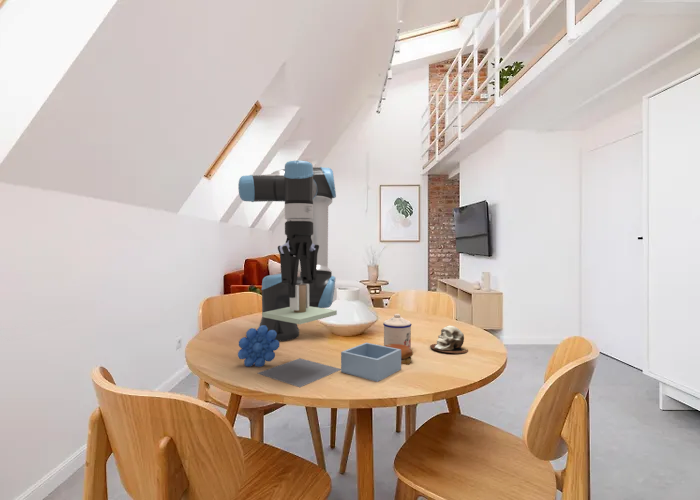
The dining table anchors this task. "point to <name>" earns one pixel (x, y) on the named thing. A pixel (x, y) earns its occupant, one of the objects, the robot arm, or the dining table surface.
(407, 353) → the burger
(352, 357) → the open box
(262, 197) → the robot arm
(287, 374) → the mat
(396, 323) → the teacup with lid
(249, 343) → the blue bumpy cluster
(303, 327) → the dining table surface
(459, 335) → the skull
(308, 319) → the lid
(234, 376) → the dining table surface
